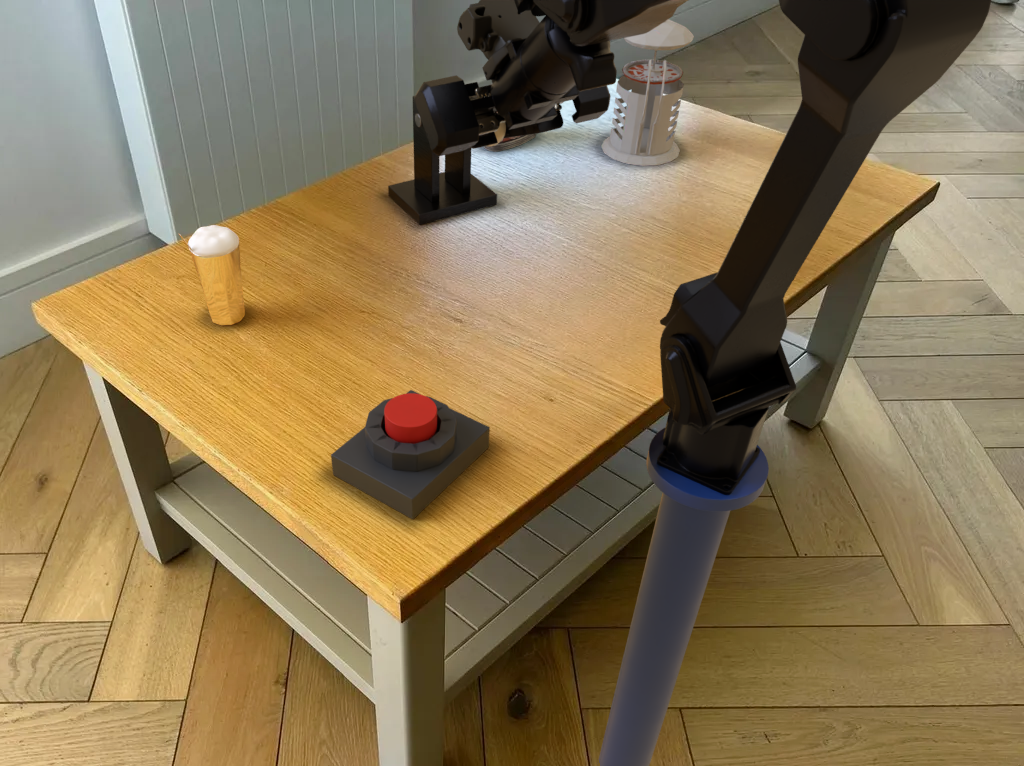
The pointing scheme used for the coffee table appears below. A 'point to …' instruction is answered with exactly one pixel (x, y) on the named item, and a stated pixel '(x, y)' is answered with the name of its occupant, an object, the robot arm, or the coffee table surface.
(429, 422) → the button
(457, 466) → the control block
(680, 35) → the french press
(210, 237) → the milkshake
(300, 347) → the coffee table surface
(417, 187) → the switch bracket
